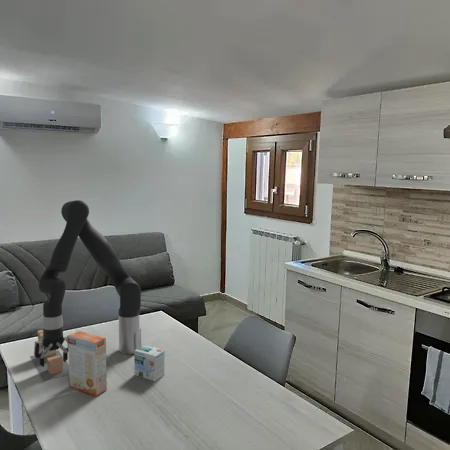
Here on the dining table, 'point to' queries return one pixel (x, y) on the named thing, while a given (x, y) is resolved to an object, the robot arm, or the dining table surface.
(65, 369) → the rubber mat
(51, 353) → the tower base
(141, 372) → the light bulb box
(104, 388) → the cracker box
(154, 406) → the dining table surface
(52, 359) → the terracotta cube
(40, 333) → the tower mid
